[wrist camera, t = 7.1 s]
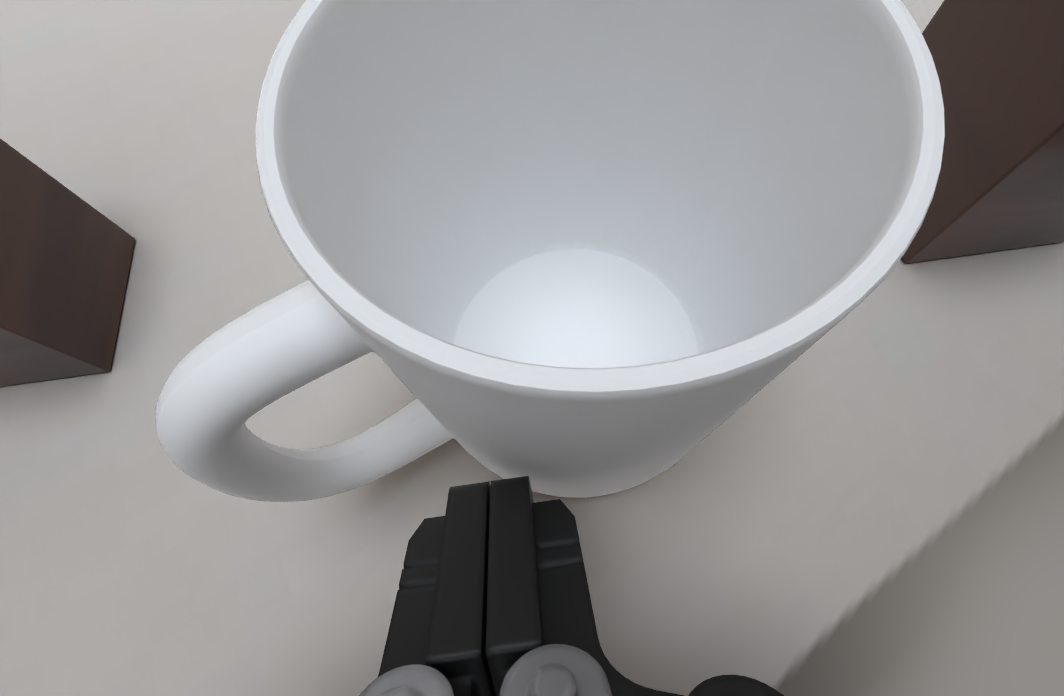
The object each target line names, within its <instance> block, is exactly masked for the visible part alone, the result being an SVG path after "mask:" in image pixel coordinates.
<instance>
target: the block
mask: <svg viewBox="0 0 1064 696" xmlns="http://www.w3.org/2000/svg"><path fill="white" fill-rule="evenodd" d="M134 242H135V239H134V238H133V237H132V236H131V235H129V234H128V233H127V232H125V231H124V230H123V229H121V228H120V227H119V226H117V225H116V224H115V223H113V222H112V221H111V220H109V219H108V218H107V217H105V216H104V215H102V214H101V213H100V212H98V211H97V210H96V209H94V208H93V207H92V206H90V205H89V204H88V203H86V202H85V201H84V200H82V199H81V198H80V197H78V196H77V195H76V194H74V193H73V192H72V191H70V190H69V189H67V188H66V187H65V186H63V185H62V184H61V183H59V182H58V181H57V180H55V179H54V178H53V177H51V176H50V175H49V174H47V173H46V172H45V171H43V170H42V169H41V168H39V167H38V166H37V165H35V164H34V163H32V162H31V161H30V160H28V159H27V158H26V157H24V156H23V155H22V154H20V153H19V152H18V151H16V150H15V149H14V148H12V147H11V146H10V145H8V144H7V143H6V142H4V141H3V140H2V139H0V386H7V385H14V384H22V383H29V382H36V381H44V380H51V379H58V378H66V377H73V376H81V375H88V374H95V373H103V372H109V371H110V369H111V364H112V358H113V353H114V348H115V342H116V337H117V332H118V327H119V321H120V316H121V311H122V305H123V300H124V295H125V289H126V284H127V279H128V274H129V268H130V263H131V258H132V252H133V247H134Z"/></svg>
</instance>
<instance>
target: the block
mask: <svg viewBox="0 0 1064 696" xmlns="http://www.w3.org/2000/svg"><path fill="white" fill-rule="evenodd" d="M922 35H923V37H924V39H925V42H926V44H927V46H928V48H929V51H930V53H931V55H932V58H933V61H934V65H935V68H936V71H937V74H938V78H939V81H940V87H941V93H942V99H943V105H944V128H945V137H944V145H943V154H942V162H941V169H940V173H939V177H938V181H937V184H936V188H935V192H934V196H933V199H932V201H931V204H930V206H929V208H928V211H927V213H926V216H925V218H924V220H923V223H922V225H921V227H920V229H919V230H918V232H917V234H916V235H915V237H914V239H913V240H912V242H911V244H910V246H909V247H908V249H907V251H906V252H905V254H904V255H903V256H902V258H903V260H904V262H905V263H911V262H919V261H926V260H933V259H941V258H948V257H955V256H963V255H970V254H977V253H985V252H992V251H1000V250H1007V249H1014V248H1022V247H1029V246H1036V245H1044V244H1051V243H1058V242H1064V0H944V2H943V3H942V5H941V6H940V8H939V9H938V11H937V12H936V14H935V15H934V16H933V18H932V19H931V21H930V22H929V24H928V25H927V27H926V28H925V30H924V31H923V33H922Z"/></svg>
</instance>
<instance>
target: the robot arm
mask: <svg viewBox="0 0 1064 696" xmlns="http://www.w3.org/2000/svg"><path fill="white" fill-rule="evenodd" d="M359 696H683V695H678V694H673V693H668V692H663V691H658V690H653V689H649V688H646V687H643V686H640V685H638V684H636V683H633V682H632V681H630V680H628V679H627V678H625V677H624V676H623V675H621V674H620V673H619V672H618V671H616V670H615V668H614V667H613V666H612V665H611V664H610V663H609V661H608V660H607V658H606V657H605V655H604V653H603V651H602V649H601V647H600V643H599V640H598V635H597V630H596V625H595V620H594V615H593V609H592V604H591V599H590V594H589V588H588V583H587V578H586V573H585V568H584V563H583V557H582V552H581V547H580V542H579V536H578V531H577V526H576V521H575V516H574V515H573V514H572V513H571V512H570V510H569V509H568V508H567V507H566V506H565V505H564V503H563V502H562V501H561V500H560V499H557V500H550V501H543V502H537V503H533V496H532V490H531V484H530V479H529V476H523V477H516V478H509V479H502V480H496V481H491V484H490V483H489V482H483V483H476V484H469V485H462V486H455V487H450V489H449V494H448V501H447V508H446V515H445V516H441V517H434V518H427V519H424V520H423V522H422V523H421V525H420V526H419V527H418V529H417V530H416V532H415V533H414V534H413V536H412V537H411V538H410V540H409V542H408V547H407V551H406V556H405V560H404V569H402V574H401V578H400V583H399V590H398V592H397V596H396V601H395V605H394V609H393V614H392V618H391V623H390V627H389V632H388V636H387V641H386V645H385V650H384V654H383V659H382V663H381V668H380V672H379V675H378V678H377V679H375V680H374V681H373V682H372V683H370V684H369V685H368V686H367V687H366V688H365V689H364V690H363V691H362V692H361V694H360V695H359ZM689 696H784V695H782V694H781V693H779V692H778V691H776V690H775V689H773V688H771V687H770V686H768V685H766V684H765V683H762V682H760V681H758V680H755V679H752V678H749V677H745V676H739V675H721V676H716V677H712V678H710V679H707V680H705V681H703V682H702V683H700V684H699V685H697V686H696V687H695V688H694V689H693V690H692V691H691V693H690V694H689Z"/></svg>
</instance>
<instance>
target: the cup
mask: <svg viewBox="0 0 1064 696" xmlns="http://www.w3.org/2000/svg"><path fill="white" fill-rule="evenodd" d="M255 136H256V154H257V167H258V173H259V178H260V183H261V189H262V193H263V196H264V199H265V202H266V205H267V208H268V211H269V214H270V217H271V219H272V221H273V224H274V226H275V228H276V230H277V232H278V234H279V236H280V238H281V240H282V242H283V244H284V246H285V247H286V249H287V250H288V252H289V253H290V255H291V256H292V258H293V259H294V261H295V263H296V264H297V266H298V267H299V268H300V270H301V271H302V272H303V273H304V274H305V276H306V277H307V278H308V279H309V280H308V281H306V282H303V283H301V284H299V285H297V286H295V287H293V288H291V289H289V290H287V291H286V292H284V293H282V294H280V295H278V296H276V297H274V298H272V299H270V300H268V301H266V302H264V303H262V304H261V305H259V306H257V307H255V308H254V309H252V310H250V311H248V312H247V313H245V314H243V315H241V316H240V317H238V318H236V319H234V320H233V321H231V322H230V323H228V324H227V325H225V326H223V327H222V328H220V329H219V330H217V331H216V332H214V333H213V334H211V335H210V336H209V337H207V338H206V339H205V340H204V341H202V342H201V343H200V344H198V345H197V346H196V347H195V348H193V349H192V350H191V351H190V352H189V353H188V354H187V355H186V356H185V357H184V358H183V359H182V360H181V361H180V362H179V363H178V364H177V365H176V367H175V368H174V370H173V372H172V373H171V375H170V376H169V378H168V379H167V381H166V383H165V385H164V387H163V389H162V391H161V394H160V396H159V399H158V402H157V405H156V429H157V435H158V438H159V441H160V444H161V446H162V447H163V448H164V450H165V451H166V453H167V454H168V455H169V457H170V458H171V460H172V461H173V462H174V464H175V465H176V466H177V467H179V468H180V469H181V470H182V471H183V472H184V473H186V474H187V475H189V476H190V477H192V478H193V479H195V480H197V481H199V482H201V483H203V484H205V485H207V486H209V487H211V488H213V489H216V490H218V491H221V492H223V493H226V494H229V495H233V496H236V497H241V498H245V499H251V500H258V501H270V502H290V501H305V500H312V499H318V498H323V497H328V496H332V495H335V494H339V493H342V492H345V491H348V490H351V489H354V488H357V487H360V486H362V485H365V484H367V483H369V482H372V481H374V480H376V479H379V478H381V477H383V476H385V475H387V474H389V473H391V472H393V471H395V470H397V469H399V468H401V467H403V466H405V465H407V464H408V463H410V462H412V461H414V460H416V459H418V458H419V457H421V456H423V455H425V454H426V453H428V452H430V451H432V450H433V449H435V448H437V447H438V446H440V445H442V444H444V443H445V442H447V441H449V440H451V439H455V440H457V441H458V442H459V443H460V445H461V446H462V447H463V448H464V449H465V450H466V451H467V452H468V453H469V454H470V455H472V456H473V457H474V458H475V459H476V460H477V461H478V462H480V463H481V464H482V465H483V466H485V467H486V468H487V469H489V470H490V471H492V472H493V473H495V474H496V475H498V476H500V477H501V478H503V479H509V478H516V477H523V476H529V479H530V484H531V490H532V491H535V492H538V493H542V494H546V495H553V496H559V497H574V498H582V497H596V496H603V495H609V494H613V493H617V492H621V491H624V490H627V489H630V488H632V487H635V486H638V485H640V484H642V483H644V482H646V481H648V480H650V479H652V478H654V477H656V476H657V475H659V474H661V473H662V472H664V471H665V470H667V469H668V468H670V467H671V466H672V465H674V464H675V463H676V462H677V461H679V460H680V459H681V458H682V457H684V456H685V455H686V454H687V453H688V452H690V451H691V450H692V449H693V448H694V447H695V446H697V445H698V444H699V443H700V442H701V441H702V440H703V439H705V438H706V437H707V436H708V435H709V434H710V433H712V432H713V431H714V430H715V429H716V428H717V427H718V426H720V425H721V424H722V423H723V422H724V421H725V420H727V419H728V418H729V417H730V416H731V415H732V414H733V413H735V412H736V411H737V410H738V409H739V408H740V407H742V406H743V405H744V404H745V403H746V402H747V401H749V400H750V399H751V398H752V397H753V396H754V395H755V394H757V393H758V392H759V391H760V390H761V389H762V388H764V387H765V386H766V385H767V384H768V383H769V382H770V381H772V380H773V379H774V378H775V377H776V376H777V375H779V374H780V373H781V372H782V371H783V370H784V369H785V368H787V367H788V366H789V365H790V364H791V363H792V362H794V361H795V360H796V359H797V358H798V357H799V356H800V355H802V354H803V353H804V352H805V351H806V350H807V349H809V348H810V347H811V346H812V345H813V344H814V343H815V342H817V341H818V340H819V339H820V338H821V337H822V336H824V335H825V334H826V333H827V332H828V331H829V330H830V329H832V328H833V327H834V326H835V325H836V324H837V323H839V322H840V321H841V320H842V319H843V318H844V317H845V316H847V315H848V314H849V313H850V312H851V311H852V310H854V309H855V308H856V307H857V306H858V305H859V304H860V303H861V302H862V301H863V300H864V299H865V298H866V297H867V296H868V295H869V294H870V293H871V292H872V291H873V290H874V289H875V288H876V287H877V286H878V285H879V284H880V283H881V282H882V281H883V280H884V279H885V278H886V277H887V276H888V274H889V273H890V272H891V270H892V269H893V268H894V267H895V265H896V264H897V263H898V261H899V260H900V259H901V258H902V256H903V255H904V254H905V252H906V251H907V249H908V247H909V246H910V244H911V242H912V240H913V239H914V237H915V235H916V234H917V232H918V230H919V229H920V227H921V225H922V223H923V220H924V218H925V216H926V213H927V211H928V208H929V206H930V204H931V201H932V199H933V196H934V192H935V188H936V184H937V181H938V177H939V173H940V169H941V162H942V154H943V145H944V137H945V128H944V105H943V99H942V93H941V87H940V81H939V78H938V74H937V71H936V68H935V65H934V61H933V58H932V55H931V53H930V51H929V48H928V46H927V44H926V42H925V39H924V37H923V35H922V33H921V31H920V29H919V28H918V26H917V24H916V23H915V21H914V19H913V18H912V16H911V14H910V13H909V11H908V9H907V8H906V7H905V5H904V4H903V3H902V1H901V0H306V1H305V3H304V4H303V5H302V7H301V8H300V10H299V11H298V12H297V14H296V15H295V16H294V18H293V19H292V21H291V22H290V24H289V26H288V27H287V29H286V31H285V33H284V34H283V36H282V38H281V39H280V41H279V43H278V46H277V48H276V50H275V52H274V54H273V57H272V59H271V61H270V63H269V66H268V69H267V73H266V76H265V79H264V82H263V85H262V89H261V94H260V99H259V104H258V109H257V121H256V134H255ZM370 352H375V353H377V354H378V355H379V356H380V357H381V358H382V359H383V361H384V362H385V363H386V364H387V365H388V367H389V368H390V369H391V370H392V371H393V372H394V373H395V375H396V376H397V377H398V378H399V379H400V380H401V381H402V382H403V383H404V384H405V385H406V386H407V388H408V389H409V390H410V391H411V392H412V393H413V394H414V395H415V396H416V397H417V398H416V399H415V400H413V401H412V402H410V403H409V404H408V405H406V406H405V407H403V408H402V409H400V410H399V411H397V412H396V413H394V414H393V415H391V416H390V417H388V418H386V419H385V420H383V421H381V422H380V423H378V424H376V425H375V426H373V427H371V428H369V429H368V430H366V431H364V432H362V433H360V434H358V435H355V436H353V437H351V438H349V439H346V440H344V441H341V442H338V443H335V444H332V445H329V446H325V447H320V448H315V449H307V450H299V449H289V448H284V447H279V446H276V445H273V444H270V443H267V442H265V441H263V440H262V439H260V438H259V437H257V436H256V435H254V434H253V433H252V432H251V431H250V430H249V429H248V428H247V427H246V425H245V422H246V420H247V419H248V418H249V417H251V416H252V415H253V414H255V413H256V412H258V411H259V410H261V409H262V408H264V407H265V406H267V405H269V404H271V403H272V402H274V401H276V400H278V399H279V398H281V397H283V396H284V395H286V394H288V393H290V392H292V391H294V390H296V389H298V388H300V387H301V386H303V385H305V384H307V383H309V382H311V381H313V380H315V379H317V378H319V377H321V376H323V375H325V374H327V373H329V372H331V371H333V370H335V369H337V368H339V367H341V366H343V365H345V364H347V363H349V362H351V361H353V360H355V359H357V358H359V357H361V356H363V355H366V354H368V353H370Z"/></svg>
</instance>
